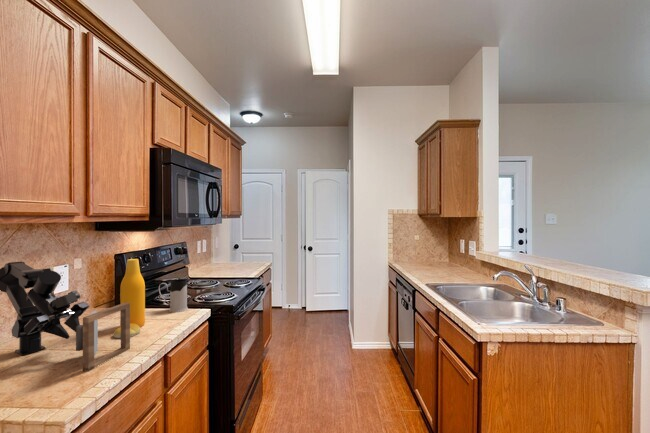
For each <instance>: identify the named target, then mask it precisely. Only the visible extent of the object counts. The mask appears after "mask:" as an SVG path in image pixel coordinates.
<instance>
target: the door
mask: <svg viewBox="0 0 650 433" xmlns="http://www.w3.org/2000/svg"><path fill="white" fill-rule="evenodd" d="M97 312H99V311H98V310H94V311H92V312H91V313H90V314H89V315H92V314H95V313H97ZM98 321H99V319H97V320H95V321H94V356H95V355H96V354H97V352H98V347H99V346H98V344H99V342H98V341H99V340H98V339H99V337H98V336H99V335H98V334H99V333H98V332H99V329H98V325H99V322H98ZM75 351H76V352H80V351H83V324H80V325H78V326H76V332H75Z"/></svg>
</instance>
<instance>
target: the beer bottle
mask: <svg viewBox="0 0 650 433" xmlns="http://www.w3.org/2000/svg"><path fill="white" fill-rule="evenodd" d="M139 262H140V261H139V258H130V259H127V261H126V266H125V274H124V277H123V278H122V280H121V283H120V285H119V286H120V289H119V290H120V294H119V296H120V298H119V300H120V301H119V302H120V304H123V303H130V324H136V325H138V326H139V327H140V328H141V327H144V326H145V323H146V285H145V280H144V277H143V275H142V274H141V270H140V269H141V268H140V263H139ZM120 304H119V305H120ZM119 312H120V315H119V316H120V318H119V322H120V323H119V324H120V325H119V327H121V311H119Z"/></svg>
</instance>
